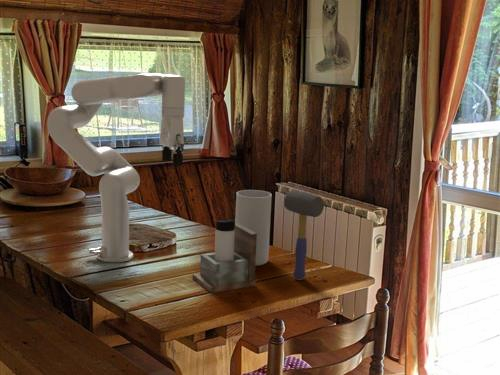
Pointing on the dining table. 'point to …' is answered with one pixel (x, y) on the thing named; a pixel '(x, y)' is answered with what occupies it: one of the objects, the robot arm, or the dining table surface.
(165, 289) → the dining table surface
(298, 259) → the rubber mallet
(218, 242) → the travel mug
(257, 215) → the cylinder vase
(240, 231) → the post holder
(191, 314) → the dining table surface
